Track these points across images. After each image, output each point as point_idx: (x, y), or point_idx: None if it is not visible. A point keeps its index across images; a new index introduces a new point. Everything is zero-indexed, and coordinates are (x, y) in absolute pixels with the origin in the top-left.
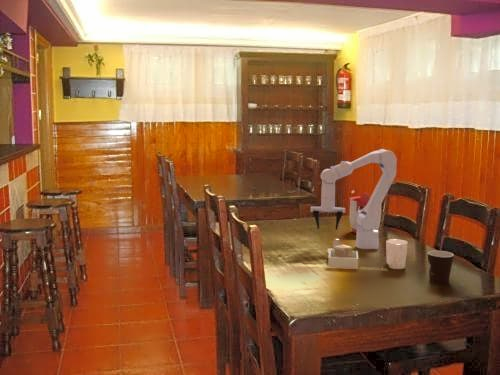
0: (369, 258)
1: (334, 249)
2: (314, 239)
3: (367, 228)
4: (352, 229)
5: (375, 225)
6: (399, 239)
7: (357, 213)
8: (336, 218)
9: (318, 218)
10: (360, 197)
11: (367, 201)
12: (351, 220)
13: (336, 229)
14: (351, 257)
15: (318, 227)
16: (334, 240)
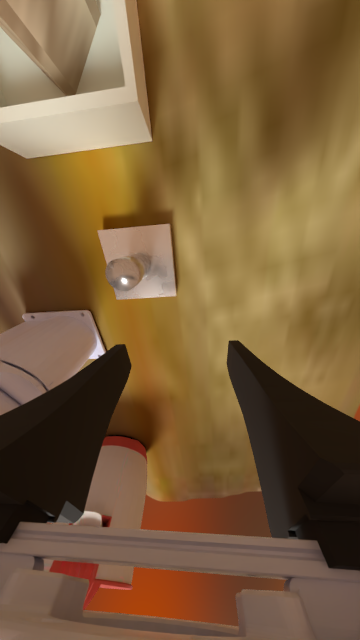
0: (7, 224)
1: (142, 256)
2: (224, 397)
3: None
4: (143, 451)
5: None
6: None
7: (111, 506)
8: (59, 404)
9: (271, 398)
10: (95, 592)
11: (69, 571)
12: (138, 478)
13: (119, 345)
14: None
15: (235, 344)
16: (130, 261)
